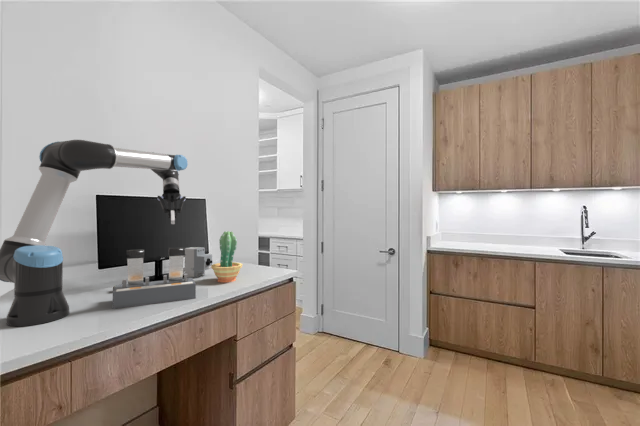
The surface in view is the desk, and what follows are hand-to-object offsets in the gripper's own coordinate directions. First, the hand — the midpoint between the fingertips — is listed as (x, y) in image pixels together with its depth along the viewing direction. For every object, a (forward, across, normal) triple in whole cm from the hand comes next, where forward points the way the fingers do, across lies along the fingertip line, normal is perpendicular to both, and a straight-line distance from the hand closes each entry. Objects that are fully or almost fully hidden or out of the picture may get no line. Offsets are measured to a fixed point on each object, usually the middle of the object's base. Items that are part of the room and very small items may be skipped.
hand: (173, 222), depth 141 cm
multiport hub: (+20, +18, -23) cm, 36 cm away
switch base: (+35, +7, -8) cm, 36 cm away
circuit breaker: (+8, -14, -35) cm, 38 cm away
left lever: (+30, +14, -3) cm, 33 cm away
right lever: (+30, 0, -3) cm, 30 cm away
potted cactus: (+21, -25, -22) cm, 39 cm away
